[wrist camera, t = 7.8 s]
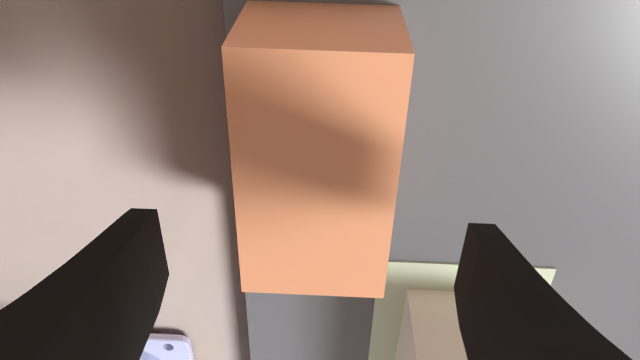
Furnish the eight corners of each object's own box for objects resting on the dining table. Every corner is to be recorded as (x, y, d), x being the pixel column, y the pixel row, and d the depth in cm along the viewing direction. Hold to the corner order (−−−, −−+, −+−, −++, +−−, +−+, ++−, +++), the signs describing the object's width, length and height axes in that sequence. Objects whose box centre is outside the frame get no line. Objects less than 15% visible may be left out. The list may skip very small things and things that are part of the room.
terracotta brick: (258, 215, 20) (241, 291, 17) (247, 0, 16) (221, 47, 12) (377, 220, 20) (383, 298, 17) (399, 5, 16) (414, 53, 12)
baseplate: (258, 407, 29) (255, 426, 28) (223, -80, 15) (215, -75, 14) (592, 424, 28) (600, 443, 27) (853, -61, 15) (886, -54, 14)
